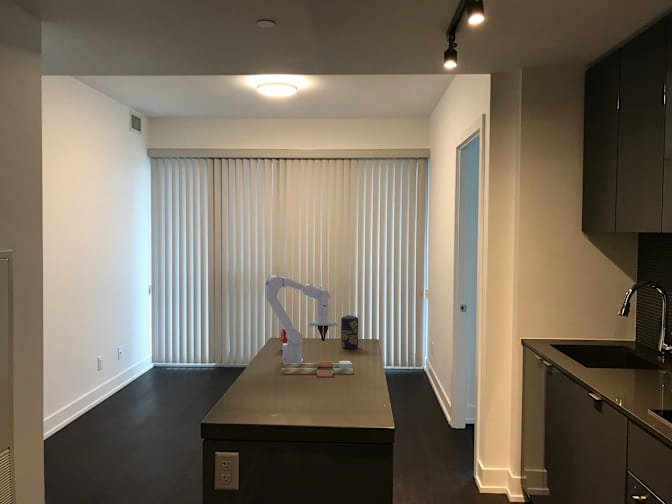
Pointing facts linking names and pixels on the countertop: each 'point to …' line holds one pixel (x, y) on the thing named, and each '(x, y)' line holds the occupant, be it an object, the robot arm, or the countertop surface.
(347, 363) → the block
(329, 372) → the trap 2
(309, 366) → the track
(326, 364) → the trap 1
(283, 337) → the soda can
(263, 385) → the countertop surface
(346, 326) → the canister
